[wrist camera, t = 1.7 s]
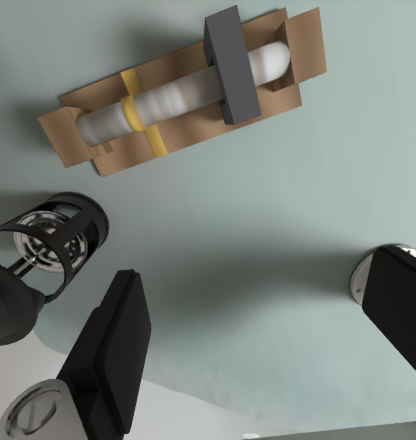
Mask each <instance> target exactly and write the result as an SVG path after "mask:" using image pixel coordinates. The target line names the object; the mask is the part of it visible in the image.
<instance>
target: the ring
mask: <svg viewBox="0 0 416 440" xmlns="http://www.w3.org/2000/svg"><path fill="white" fill-rule="evenodd" d="M203 50H204V54H205V57H206V61H207V64H208V67H211V66H213V65H215V67H216V71H217V74H218V78H219V81H220V85H221V89H222V92H223V96H224V99H221V100H219V101H218V102H219V106H220V109H221V113H222V116H223V120H224V123H225V125H236V124H239V123H241V122H244V121H247V120H250V119H252V118H255V117H258V116H261V115H262V114H261V109H260V105H259V100H258V96H257V92H256V87H255V83H254V78H253V74H252V70H251V65H250V61H249V56H248V52H247V48H246V43H245V39H244V35H243V30H242V26H241V21H240V17H239V13H238V8H237V5H235V6H233V7H230V8H228V9H225V10H223V11H220V12H218V13H215V14H213V15H211V16H208V17H206V18H205V28H204V41H203Z"/></svg>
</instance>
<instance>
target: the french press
mask: <svg viewBox="0 0 416 440" xmlns="http://www.w3.org/2000/svg"><path fill="white" fill-rule="evenodd" d="M61 203H67V204H71V205H73V206H76V207H78V208H79V209H81V211H80V212H79V213H77V214H76V215H75V216H73V217H72V218H69V217H67V216H65V215H63V214H60V213H57V212H52V211H53V209H54V208H55V207H56V206H57V205H59V204H61ZM18 221H19V222H18ZM91 221H93V223H94V224H95V226H96V229H97V233H98V235H97V237H96V239H95V240H94V241H92V242H91V243H88V244H87V239H86V236H85V233H84V232H83V230H82V229H83V228H84V227H85V226H87V225H88V224H89V223H90V222H91ZM16 222H18V223H17V224H14V223H16ZM0 231H14V241H15V245H16V247H17V249H18V251H19V253H20V254H21V255H22V258H21V259H19V260H18V261H17V262H15V263H14V264H13V265H11V266H10V267H9V268H5V267H3V266H1V265H0V346H1V345H8V344H11V343H14V342H17V341H19V340H21V339H22V338H24V337H25V336H26V335H28V334H29V333H30V332H31V330H32V329H33V327H34V326H35V324H36V322H37V318H38V313H39V312H40V311H41V309H42V308H43V306H44V304H46V303H49V302H51V301H53V300H54V299H56V298H57V297H58V296H59V295H60V294H61V293H62V292H63V290H64V289H65V288H66V287H67V285H68V284H69V283H70V282H71V280H72V279H73V278H74V277H75V275H76V274H77V273H78V272H79V271H80V269H81V268H82V267H83V266H84V264H85V263H86V262H87V261H88V259H89V258H90V257H91V256H92V254H93V253H94V252H95V251H96V249H97V248H99V247H100V246H101V245H102V244H103V243H104V242H105V240H106V239H107V236H108V233H109V221H108V218H107V215H106V214H105V212H104V210H103V209H102V208H101V206H100V205H99V204H98V203H96V202H95V201H94V200H93V199H91V198H89V197H87V196H85V195H83V194H79V193H74V192H65V193H60V194H57V195H55V196H53V197H51V198H50V199H48V200H47V202H45V203H43V204H41V205H39V206H37V207H35V208H33V209H31V210H29V211H27V212H25V213H24V214H22V215H20V216H18V217H16V218H14V219H12V220H10V221H8V222H6V223H4V224H2V225H0ZM33 267H36V268H38V269H40V270H43V271H46V272H51V273H64V283H63V284H62V285H61V286H60V287H59V289H58V290H57V291H56V292H55V293H54V294H51V295H48V296H45V295H44V294H43V293H42V292H40V291H38V290H36V289H33V288H31V287H29V286H27V285H26V284H25V283H24V282H23V281H22V280H21V278H22V277H23V276H24V275H25V274H26V273H27V272H29V271H30V270H31V269H32V268H33ZM73 270H74V271H73ZM72 271H73V272H72Z"/></svg>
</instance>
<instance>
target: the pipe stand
mask: <svg viewBox="0 0 416 440" xmlns="http://www.w3.org/2000/svg"><path fill="white" fill-rule="evenodd" d="M241 26H242V30H243V35H244V39H245V43H246V48H247V52H248V56H249V61H250V65H251V70H252V74H253V78H254V83H255V87H256V92H257V96H258V100H259V105H260V109H261V114H262V115H261V116H258V117H255V118H252V119H250V120H247V121H244V122H241V123H239V124H236V125H225V123H224V120H223V116H222V113H221V109H220V106H219V102H218V101H219V100H221V99H224V96H223V92H222V89H221V85H220V81H219V78H218V74H217V71H216V67H215V65H213V66H211V67H208V64H207V61H206V57H205V54H204V50H203V41H204V40H202V41H199V42H197V43H194V44H192V45H189V46H187V47H184V48H182V49H179V50H177V51H174V52H172V53H169V54H167V55H164V56H162V57H159V58H157V59H154V60H152V61H149V62H147V63H144V64H142V65H139V66H137V67H134V68H131V69H128V70H126V71H123V72H121V73H119V74H116V75H114V76H111V77H109V78H106V79H104V80H101V81H99V82H96V83H94V84H91V85H89V86H86V87H84V88H81V89H79V90H76V91H74V92H71V93H69V94H66V95H64V96H61V99H62V101H63V103H64V105H65V107H63V108H60V109H58V110H55V111H52V112H50V113H47V114H45V115H42V116H40V117H37V119H38V121H39V123H40V124H41V126H42V128H43V130H44V131H45V133H46V135H47V137H48V138H49V140H50V142H51V144H52V145H53V147H54V149H55V151H56V152H57V154H58V156H59V158H60V159H61V161H62V163H63V165H64V166H65V168H68V167H71V166H73V165H76V164H79V163H82V162H85V161H88V160H91V159H93V161H94V163H95V165H96V167H97V169H98V171H99V173H100V175H101V177H104V176H107V175H110V174H113V173H115V172H118V171H121V170H124V169H127V168H129V167H132V166H135V165H138V164H140V163H143V162H146V161H149V160H152V159H154V158H157V157H160V156H163V155H166V154H168V153H171V152H174V151H177V150H179V149H182V148H185V147H188V146H190V145H193V144H196V143H199V142H202V141H204V140H207V139H210V138H213V137H216V136H218V135H221V134H224V133H227V132H229V131H232V130H235V129H238V128H241V127H243V126H246V125H249V124H252V123H254V122H257V121H260V120H263V119H266V118H268V117H271V116H274V115H277V114H279V113H282V112H285V111H288V110H291V109H293V108H296V107H299V106H302V103H301V97H300V91H299V85H298V83H300V82H303V81H305V80H308V79H310V78H313V77H315V76H318V75H320V74H323V73H325V72H327V69H326V61H325V52H324V44H323V36H322V28H321V20H320V11H319V7H317V8H314V9H312V10H309V11H307V12H304V13H302V14H299V15H297V16H294V17H291V18H289V19H288V18H287V12H286V7H285V8H282V9H280V10H277V11H275V12H272V13H270V14H267V15H265V16H262V17H260V18H257V19H255V20H252V21H250V22H247V23H245V24H242V25H241Z"/></svg>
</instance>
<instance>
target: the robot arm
mask: <svg viewBox="0 0 416 440" xmlns="http://www.w3.org/2000/svg"><path fill="white" fill-rule="evenodd" d="M350 290H351V293H352V295H353V297H354V298H355V300H356V301H357V302H358V303H359V304H360V305H362V309H363V311H364V313H365V314H366V315H367V316H368V317H369V319H370V320H371V321H372V322H373V323H374V324H375V325H376V326H377V328H378V329H379V330H380V331H381V332H382V333H383V334H384V335H385V337H386V338H387V339H388V340H389V341H390V342H391V343H392V344H393V346H394V347H395V348H396V349H397V350H398V351H399V352H400V354H401V355H402V356H403V357H404V358H405V359H406V360H407V361H408V363H409V364H410V365H411V366H412V367H413V368H414V369H415V370H416V249H414V248H412V247H409V246H405V245H394V246H385V247H379V248H378V249H377V250H376V251H375V252H374V253H372V254H370V255H369V256H367V257H366V258H365V259H364V260H363V261H362V262H361V263H360V264H359V265H358V266H357V268H356V270H355V271H354V273H353V275H352V278H351V283H350ZM150 335H151V322H150V317H149V313H148V308H147V304H146V299H145V295H144V290H143V286H142V281H141V277H140V274H139V273H135V271H134V270H133V269H130V270H119V271H118V272H117V273H116V275H115V277H114V279H113V281H112V283H111V285H110V287H109V289H108V291H107V293H106V295H105V296H104V298H103V300H102V302H101V304H100V306H99V307H96V308H95V309H94V310H93V311H92V313H91V315H90V317H89V319H88V320H87V322H86V324H85V326H84V328H83V330H82V331H81V333H80V335H79V337H78V339H77V341H76V342H75V344H74V346H73V348H72V350H71V352H70V354H69V355H68V357H67V359H66V361H65V363H64V365H63V367H62V369H61V370H60V372H59V374H58V376H57V377H56V379H48V380H45V381H42V382H39V383H37V384H35V385H33V386H31V387H30V388H28V389H27V390H25V391H24V392H23V393H22V394H20V395H19V396H18V397H17V398H16V399H15V400H14V401H13V402H12V403H11V404H10V406H9V407H8V408H7V409H6V411H5V412H4V413H3V415H2V417H1V419H0V440H123V437H124V434H128V433H129V432H130V429H131V425H132V421H133V416H134V411H135V406H136V402H137V396H138V392H139V387H140V383H141V378H142V373H143V368H144V364H145V359H146V354H147V349H148V345H149V340H150ZM244 440H416V421H414V422H404V423H394V424H385V425H375V426H365V427H356V428H346V429H337V430H327V431H318V432H308V433H299V434H290V435H281V436H272V437H263V438H253V439H244Z"/></svg>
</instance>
